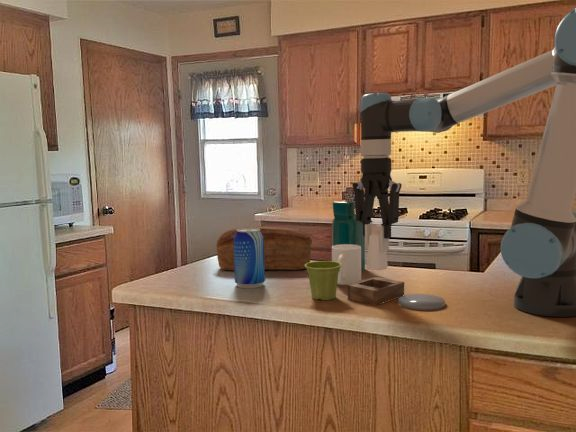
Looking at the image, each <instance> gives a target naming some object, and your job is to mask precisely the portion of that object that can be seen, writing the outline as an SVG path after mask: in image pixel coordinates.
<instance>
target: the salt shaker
mask: <svg viewBox="0 0 576 432" xmlns="http://www.w3.org/2000/svg"><path fill="white" fill-rule="evenodd" d="M380 226H382V225H381V224H374V225H372V226H371V228H372V229H371V230H372V234H371V235H370V236H369V246H368V250H367V259H366V269H368V270H371V271H383V270H387V269H388V257H387V251H385V252H380Z"/></svg>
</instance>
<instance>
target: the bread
mask: <svg viewBox="0 0 576 432" xmlns="http://www.w3.org/2000/svg"><path fill="white" fill-rule="evenodd" d="M242 228H243V227H240V228H239V229H242ZM245 228H258V229H260V232H261V234H262V235H263V237H264V268H265V270H267V271H268V270H291V271H292V270H295V271H296V270H297V271H298V270H304V269H306V267H305V264H306V263H309V262H311V254H312V244H313V240H312V237H311V235H309V234H308V233H307V232H305V231H303V230H300V229H297V228H291V227H281V226H268V225H264V226H261V225H260V226H251V227H249V226H248V227H245ZM237 229H238V228H235V229H234V228H233V229H230V230H227V231H224V232H223V233H222V234H220V236H219V238H218V239H217V242H216V245H215V247H216V254H217V261H218V267H219V268H220V270H225V271H235V265H234V236H235V235H236V233H237Z"/></svg>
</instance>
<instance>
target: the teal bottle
mask: <svg viewBox="0 0 576 432" xmlns="http://www.w3.org/2000/svg"><path fill="white" fill-rule="evenodd" d="M332 212H333V217H334V218H333V219H332V246H334V245H340V244H353V245H359V246H361V272H362V271H363V270H365V269H366V250H365V236H363V224H362V222H360V221H357V220H356V211H355V200H342V201H332Z"/></svg>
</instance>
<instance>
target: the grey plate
mask: <svg viewBox="0 0 576 432" xmlns="http://www.w3.org/2000/svg"><path fill="white" fill-rule="evenodd" d="M399 304H400V305H401V306H400V305H399ZM398 305H399V306H400V307H402V306H403V307H402V308H405V309H408V308H409V310H413V311H436V310H440V309H443V308H444V307H445V306H446V300H445V298H443V297H440V296H438V295H434V294H427V293H425V294H424V293H411V294H404V296H401V297H398Z"/></svg>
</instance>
